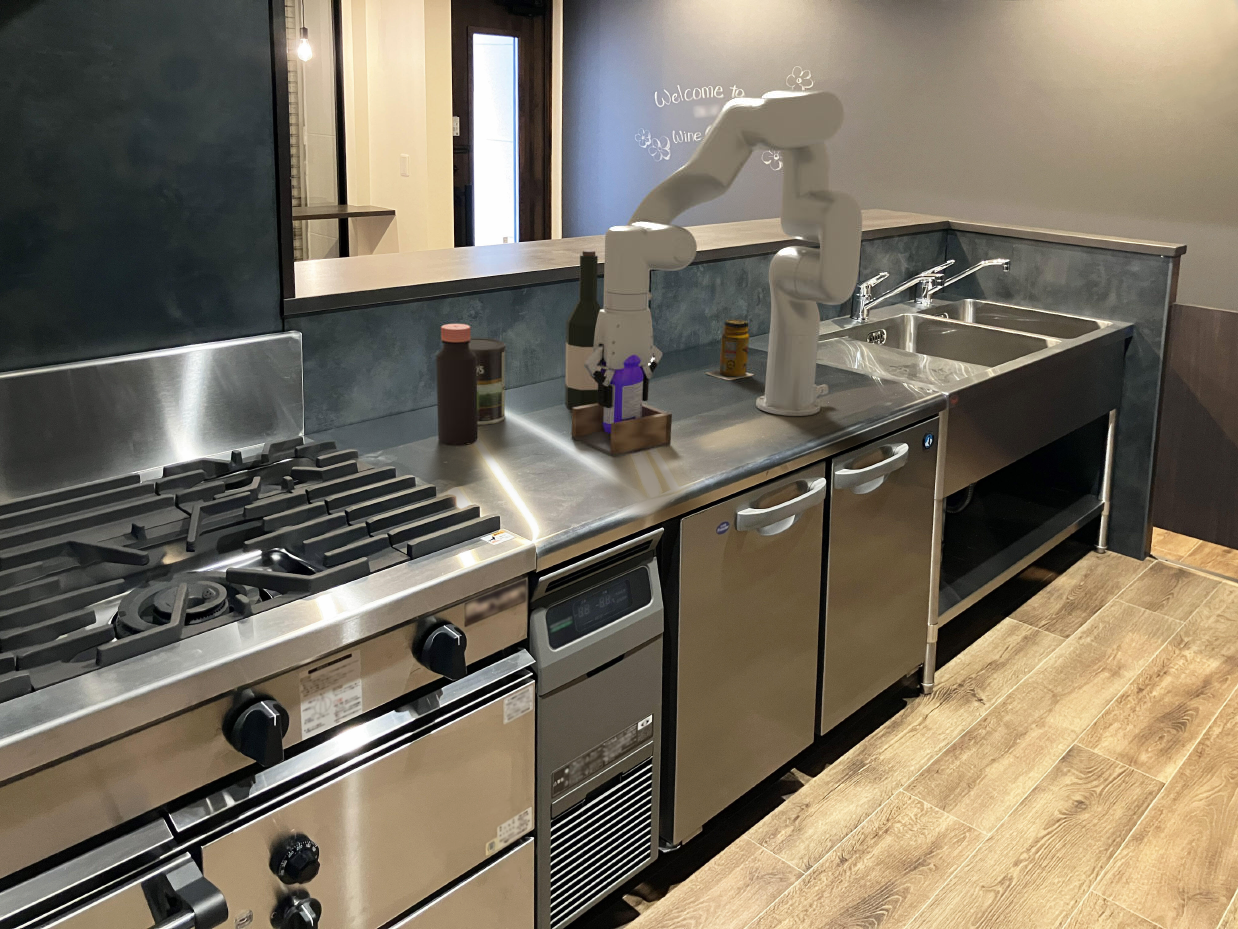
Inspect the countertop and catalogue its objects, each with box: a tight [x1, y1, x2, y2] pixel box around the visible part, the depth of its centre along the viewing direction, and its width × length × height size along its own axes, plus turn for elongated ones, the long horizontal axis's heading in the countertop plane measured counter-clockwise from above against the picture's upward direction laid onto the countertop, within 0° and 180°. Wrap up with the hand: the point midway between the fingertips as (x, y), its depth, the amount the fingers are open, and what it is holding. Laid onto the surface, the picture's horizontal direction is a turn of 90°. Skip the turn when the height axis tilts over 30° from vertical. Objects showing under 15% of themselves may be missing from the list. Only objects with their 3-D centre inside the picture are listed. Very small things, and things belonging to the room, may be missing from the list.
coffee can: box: [469, 337, 506, 426], centre depth 192 cm, size 10×10×14 cm
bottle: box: [603, 355, 643, 434], centre depth 180 cm, size 7×6×17 cm
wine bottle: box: [564, 249, 607, 410], centre depth 199 cm, size 8×8×30 cm
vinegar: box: [435, 323, 479, 446], centre depth 178 cm, size 7×7×20 cm
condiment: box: [705, 318, 755, 381], centre depth 229 cm, size 7×8×12 cm
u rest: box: [571, 402, 673, 458], centre depth 182 cm, size 12×12×6 cm
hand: (622, 402), depth 181 cm, fingers closed on bottle, 7 cm apart
